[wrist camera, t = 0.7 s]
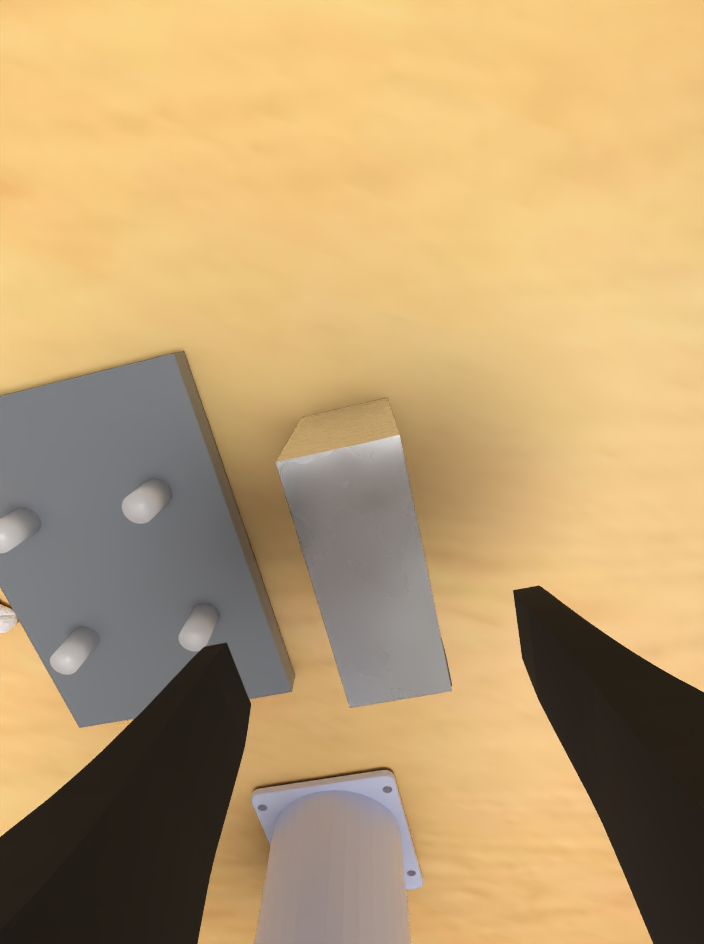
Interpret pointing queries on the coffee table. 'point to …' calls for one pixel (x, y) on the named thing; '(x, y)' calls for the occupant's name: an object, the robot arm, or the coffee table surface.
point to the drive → (365, 552)
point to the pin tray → (127, 540)
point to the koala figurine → (7, 619)
